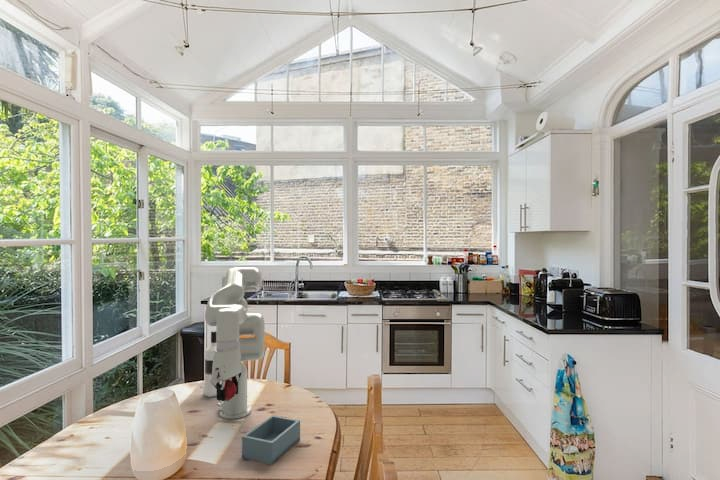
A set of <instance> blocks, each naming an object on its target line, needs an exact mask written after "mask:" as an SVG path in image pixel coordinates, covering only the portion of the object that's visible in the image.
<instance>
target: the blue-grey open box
mask: <svg viewBox="0 0 720 480" xmlns="http://www.w3.org/2000/svg"><path fill="white" fill-rule="evenodd" d="M300 440H301V419H295V418H290V417H284V416H278V415H274V414H273V415H271V416H269V417H268V418H267V419H265V420H263V421H262V422H260V423H259V424H258V425H256V426H255V427H254V428H252V429H251V430H250V431H248V432H247V433H245V434H244V435H241V458H242V459H246V460H252V461H255V462H260V463H264V464H268V465H274V464H275V463H276V462H277V461H278V460H279V459H280V458H282V457H283V456H284V455H285V454H286V453H287V452H288V451H289V450H290V449H292V447H294V446H295V445H297V443H298V442H299V441H300Z"/></svg>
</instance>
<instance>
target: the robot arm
mask: <svg viewBox="0 0 720 480" xmlns="http://www.w3.org/2000/svg"><path fill="white" fill-rule="evenodd" d="M221 286H222V288H220V289H219V290H217V291H216V292H215V293H213V294H212V295H211V296H210V297H209V299H208V300H207V305H206V308H205V310H204V311H205V313H204V319H205V323H206V324H207V325H208V326H211V327H216V330H215V331H216V350H215V352H214V357H213V365H212V379H211V381H210V383H211V384H212V385H213V386H214V387H215V389H217V396H216V400H217V401H218V403H217V404H216V406H217V407H221V409H220V410H219V416H220V417H221V418H222V419H227V420H235V419H236V420H237V419H241V418H244V417H247V416H248V415H249V414H250V413H251V412H252V408H251V406H249V405H248V370H247V369H248V368H247V367H246V365H245V364H244V363H243V362H245V361H258V360H261V359H263V358H264V355H265V347H266V346H265V338H266V337H265V335H266V334H265V332H266V331H265V318H264V315H263V314H262V313H259V312H250V313H249V312H248V301H247V300H246V298H244V296H245V293H257V292H260V291H261V290H262V287H263V277H262V272H261V271H260V269H259V268H258V267H254V266H253V267H251V266H250V267H249V266H247V267H244V266H243V267H239V266H238V267H231V268H229V269H228V270H227V271H226V273H225V274H224V275H223V276H222V278H221ZM240 336H250V337H240ZM251 336H252V337H251ZM227 379H229V380H231V381H233V382H234V384H235V385H236V389H237V391H236V394H235V395H234V397H233V398H231V399H230V400H229V401H225V389H224V386H225V382H226V380H227ZM220 381H222V383H221V384H220Z"/></svg>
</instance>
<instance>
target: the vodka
mask: <svg viewBox="0 0 720 480" xmlns="http://www.w3.org/2000/svg"><path fill="white" fill-rule="evenodd" d="M215 350H216V330H212V331H210V345H209V346H208V347H206V348H205V350H204V353H203V354H204V374H203V375H204V383H203V384H204V387H203V389H202V390H203V391H202V392H203V393H202V394H203V395H204V396H205V397H207V398H213V397H217V389H215V387H214V386H213V385H212V384H211V383H210V381H211V379H212V365H213V357H214V352H215ZM221 383H222V381H220V384H221Z"/></svg>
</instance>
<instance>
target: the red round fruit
mask: <svg viewBox="0 0 720 480" xmlns="http://www.w3.org/2000/svg"><path fill="white" fill-rule="evenodd" d="M224 389H225V401H229V400H230V399H231V398H233V397H234V395H235V394H236V391H237V389H236V385H235V384H234V382H233V381H231V380H229V379H227V380H226V382H225V386H224Z"/></svg>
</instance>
